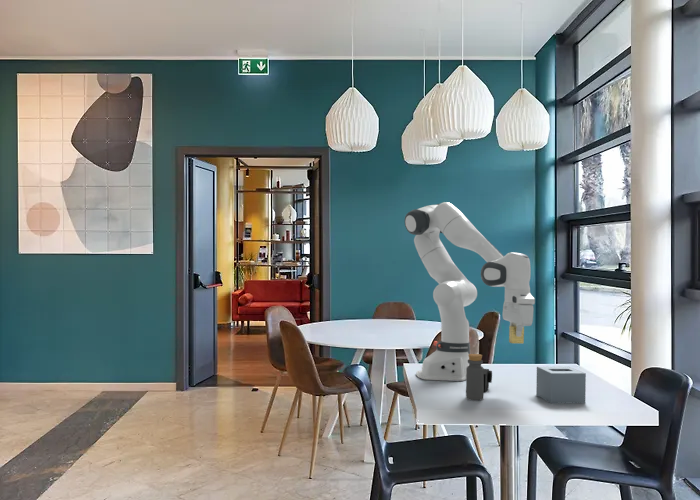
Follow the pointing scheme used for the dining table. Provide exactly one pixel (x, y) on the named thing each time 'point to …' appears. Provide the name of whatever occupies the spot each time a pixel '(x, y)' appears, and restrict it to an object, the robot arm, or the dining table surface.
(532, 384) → the dining table surface
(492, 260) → the robot arm
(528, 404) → the dining table surface
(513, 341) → the block
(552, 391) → the box
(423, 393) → the dining table surface
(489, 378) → the digital camera
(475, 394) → the bottle
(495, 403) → the dining table surface
